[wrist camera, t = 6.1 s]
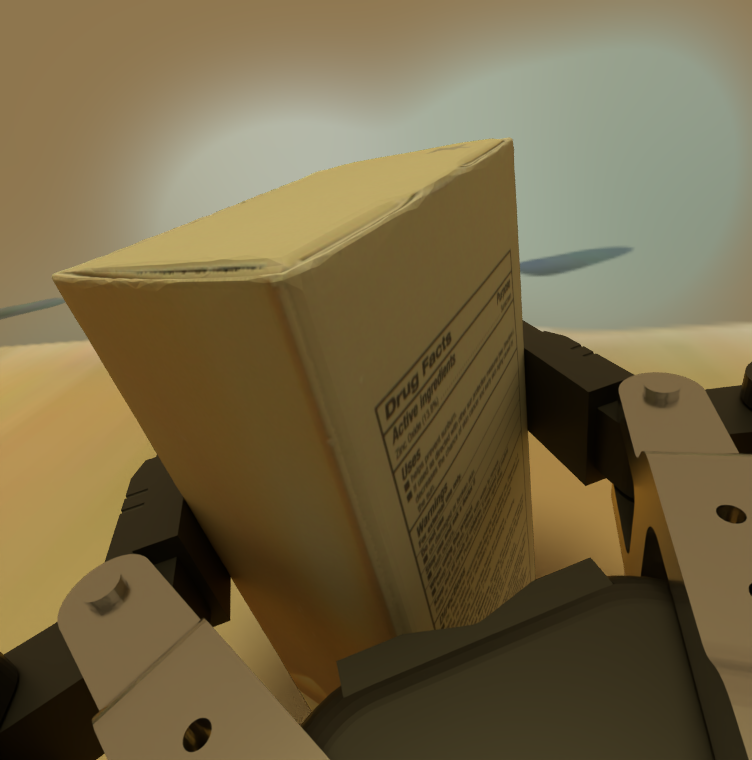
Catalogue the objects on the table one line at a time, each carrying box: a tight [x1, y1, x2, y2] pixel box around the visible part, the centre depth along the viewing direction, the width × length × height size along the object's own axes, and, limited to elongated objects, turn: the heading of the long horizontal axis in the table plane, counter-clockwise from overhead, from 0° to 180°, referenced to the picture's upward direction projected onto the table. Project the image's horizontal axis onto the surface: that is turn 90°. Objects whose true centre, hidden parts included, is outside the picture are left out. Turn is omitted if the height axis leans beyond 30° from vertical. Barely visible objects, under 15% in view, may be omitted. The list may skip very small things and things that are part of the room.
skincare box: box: [52, 138, 535, 711], centre depth 10 cm, size 6×4×12 cm
